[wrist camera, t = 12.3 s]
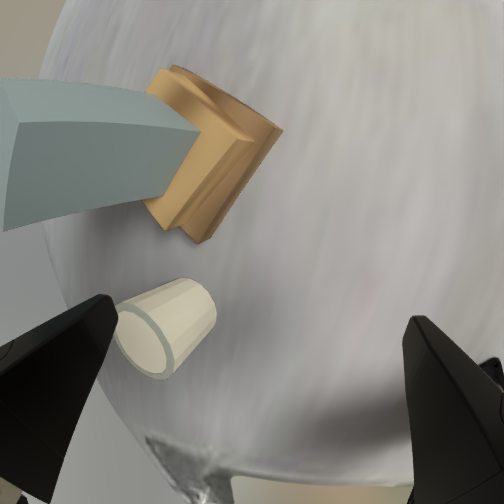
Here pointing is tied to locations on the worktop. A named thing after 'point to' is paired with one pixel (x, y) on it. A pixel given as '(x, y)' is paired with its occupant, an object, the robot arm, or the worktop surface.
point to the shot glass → (164, 326)
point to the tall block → (83, 148)
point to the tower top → (195, 149)
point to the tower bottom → (240, 174)
